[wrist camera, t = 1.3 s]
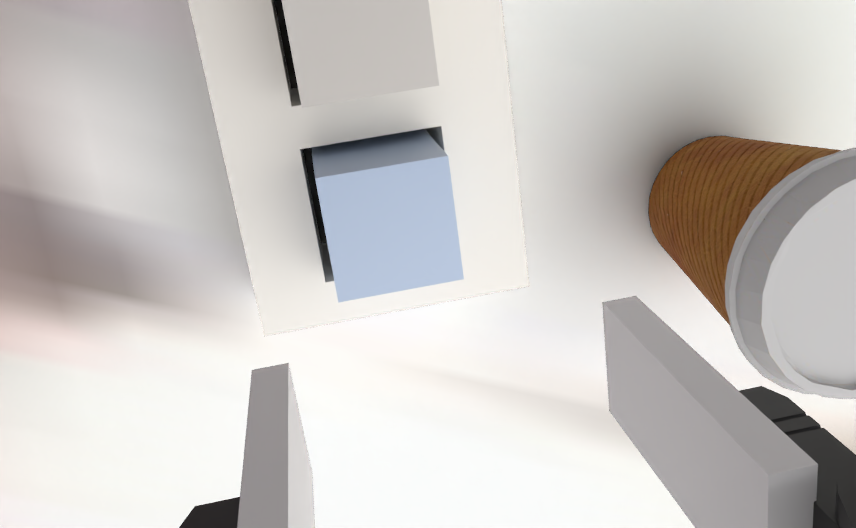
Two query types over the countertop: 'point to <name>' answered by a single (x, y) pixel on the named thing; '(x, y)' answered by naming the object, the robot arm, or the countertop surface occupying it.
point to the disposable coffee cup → (769, 251)
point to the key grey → (359, 48)
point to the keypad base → (352, 120)
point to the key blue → (387, 214)
